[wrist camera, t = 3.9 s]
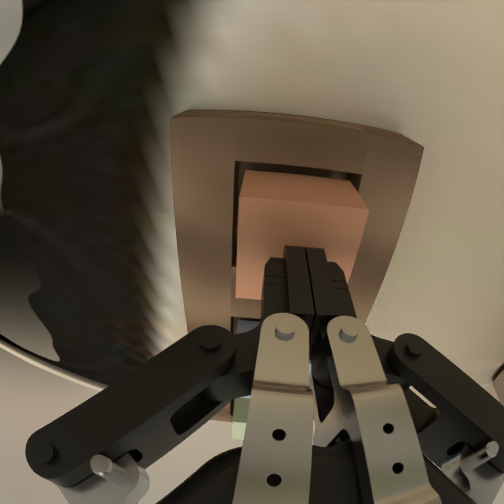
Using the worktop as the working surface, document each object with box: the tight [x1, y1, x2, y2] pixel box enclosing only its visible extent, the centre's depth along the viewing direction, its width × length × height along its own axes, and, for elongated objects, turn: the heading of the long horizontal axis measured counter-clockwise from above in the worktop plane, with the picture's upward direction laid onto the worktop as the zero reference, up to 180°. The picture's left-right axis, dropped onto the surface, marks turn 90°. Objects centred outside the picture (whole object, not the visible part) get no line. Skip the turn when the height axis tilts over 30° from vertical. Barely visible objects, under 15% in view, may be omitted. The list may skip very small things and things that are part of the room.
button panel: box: [170, 110, 424, 422], centre depth 21 cm, size 30×12×3 cm, turn 177°
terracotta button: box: [235, 170, 369, 300], centre depth 13 cm, size 5×5×3 cm
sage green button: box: [232, 398, 250, 440], centre depth 25 cm, size 5×5×3 cm
